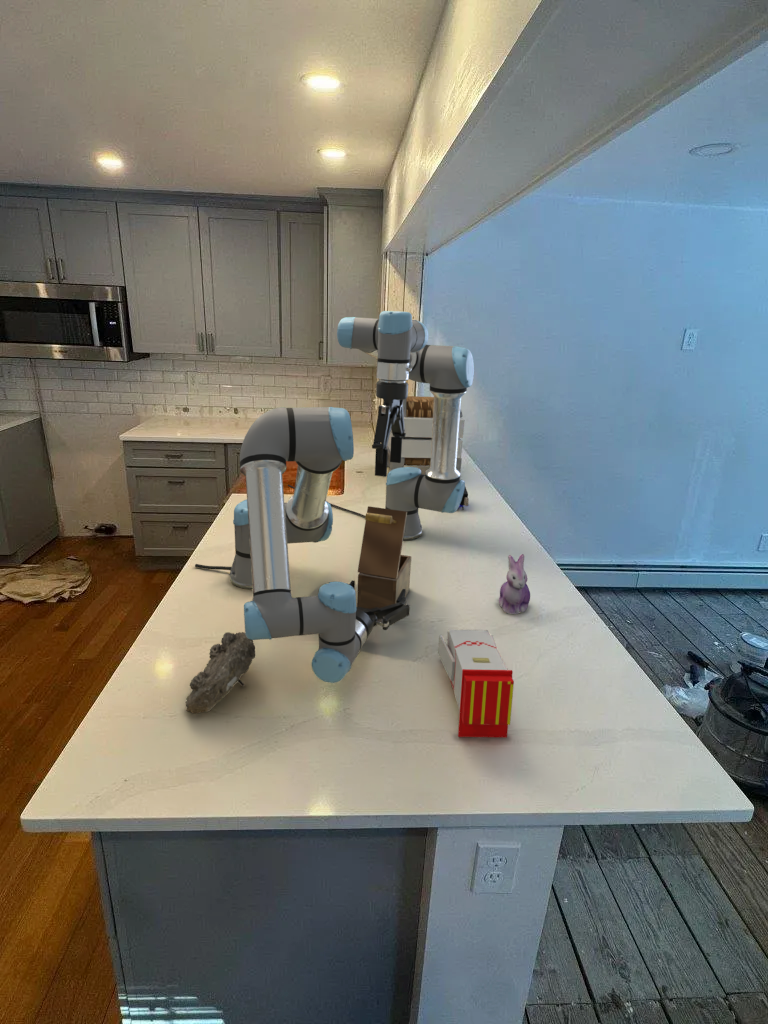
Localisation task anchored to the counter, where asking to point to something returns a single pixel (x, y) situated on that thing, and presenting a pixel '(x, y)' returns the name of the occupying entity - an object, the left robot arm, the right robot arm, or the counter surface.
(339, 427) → the left robot arm
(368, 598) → the chest
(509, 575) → the figurine
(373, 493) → the counter surface
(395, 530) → the lid
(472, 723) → the toy
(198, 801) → the counter surface
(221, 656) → the fossil
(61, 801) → the counter surface
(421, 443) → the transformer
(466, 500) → the figurine character
